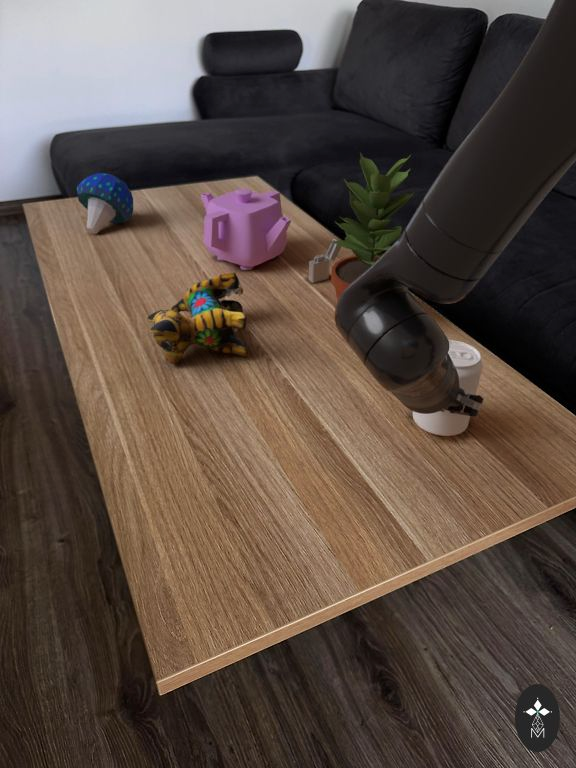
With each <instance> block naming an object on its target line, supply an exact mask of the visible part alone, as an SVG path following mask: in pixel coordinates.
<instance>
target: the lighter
mask: <svg viewBox="0 0 576 768" xmlns="http://www.w3.org/2000/svg"><path fill="white" fill-rule="evenodd" d="M338 240H339V239H336V238H333V239H332V240H331V241H332V242H330V245H329V247H328V250H327V252H326V254H325V255H324V254H322V253H321V254H318V255H314V258H313V259H312V260H309V262H308V281H309V282H310V283H311V284H314V283H318V282H322V281H325V280H329V278H330V263H331V262H330V261H333V262H334V261H336V259H337V257H338V256H339V255H338V254H339V252H340V250H341V248H342V246H339V245H337V244H335V243H333V242H336V241H338Z"/></svg>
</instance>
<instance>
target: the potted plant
mask: <svg viewBox="0 0 576 768" xmlns="http://www.w3.org/2000/svg"><path fill="white" fill-rule="evenodd" d="M359 154H360V159H359V164H360V167H361V170H362V173H363V175H364V178H365V181H366V187H365V188H364V187H363V186H362V185H360V184H359V183H357V182H353V181H351V182H350V181H347V180H346V179H343V181H344V182H345V184H346V186H347V187H348V189H349V190H348V192H349V204H350V207H351V209H352V210H353V212H354V214H355V216H356V217H357V219H358V221H359V222H360V223H359V222H358V221H356V220H354V219H353V218H350V217H344V218H343V217H341V216H339V218H340V219H341V220H343V221H344V222H342V223H339V222H336V221H335V220H334V222H335V224H336V225H337V226H338V227H339V228H341V229H342V230H344V232H345V235H346V236H345V237H344V239H343V240H342V239H337V240H338V241H336V242H333V243H335V244H337V245H339V246H341V248H345V249H349V250H351V251H352V253H353V254H354V255H349V256H347V257H343V258H341V259H339V260H337V261H336V262H334V264H333V265H332V267H331V277H330V279H331V281H330V282H331V285H332V286H333V288H334V291H335V295H336V300H337V301H338V299H339V297H340V295H341V294H342V292H343V291H344V290H345V289H346V288H347V287H348V286H349V285H350V284H351V283H352V282H353V281H355V280H356V279H357V278H358V277H359V276H360V275H362V274H363V273H364V272H365V271H366V270H367V269H368V268H370V267H371V266H372V265H373V264H374V263H375V262H376V261H377V260H378V259H379V258H380V257H381V256H382V255H383V254H384V253H385V252H386V251H387V250H388V249H389V248H390V247H391V246H392V245H393V244H394V243H395V242H396V241H397V239H398V238H399V237H400V236H401V234H402V232H403V227H402V226H401V225H397V226H393V227H390V228H389V229H386V228H387V226H388V224H390V222H391V221H392V219H391V218H390V217H391V216H392V215H394V214H395V213H396V212H397V211H398V210H399V209H401V208H402V207H403V206H404V205H406V203H408V202H409V200H411V198H413V196H414V194H415V193H416V192H415V191H414V192H412V193H410V194H409V193H402V194H400V195H398V196H396V197H395V198H393V199H392V200H390V198H391V194H392V193H393V192H394V191H395V190H396V189H397V188H398V187H399V186H400V185H401V184H402V183H403V182H404V180H406V179H407V178H408V176H409V173H410V171H411V168H409V169H408V170H406V171H399V170H400V169H401V168H402V167H403V166H404V165H405V163H406V162H407V161H408V159H410V157H411V155H409V156H408V157H407V158H401V159H399V160H398V161H396V162H395V163H394V164H393V166H391V167H390V169H389V170H388V172H387V173H386V174H380V171H379V169H378V167H377V165H376V164H375V162H374V161H373V160H372V159H369V158H367V157H364V156H363V154H362V153H361V152H359ZM389 218H390V219H389ZM329 242H330V243H332V240H329ZM383 251H384V252H383ZM382 252H383V253H382Z"/></svg>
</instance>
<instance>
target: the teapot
mask: <svg viewBox="0 0 576 768" xmlns="http://www.w3.org/2000/svg"><path fill="white" fill-rule="evenodd" d="M200 197H201V201H202V203H203V206H204V209H205V212H206V214H205V215H204V219H203V220H204V222H203V223H204V224H203V227H204V228H203V244H205V246H206V248H207V250H208V252H210V254H212V255H214V256H216V259H217V260H218V261H226V262H229V263H232V264H236V265H239V269H241V270H242V271H243V270H244V271H250V270H253V269H254V267H255V266H258V265H261V264H263V263H265V262H267V261H270V260H272V259H275V258H276V257H277V256H279V255H281V254H282V253H283V252H284V251H285V248H286V246H287V242H288V235H287V231H288V230H289V227H290V225H291V222H292V219H290V218H288V216H284V215H283V210H282V209H283V208H282V202H281V192H280V191H276V190H273V189H271V190H269V191H266V192H264V193H259V192H254V191H252V190H251V189H248V188H239V189H236V190H233V191H230V192H228V193H224V194H222V195H219V196H216V197H214V196H213V195H212V193H211V192H210V193H209V192H203V193H202V194H200Z"/></svg>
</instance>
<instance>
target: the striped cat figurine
mask: <svg viewBox="0 0 576 768" xmlns="http://www.w3.org/2000/svg"><path fill="white" fill-rule="evenodd" d="M232 294H235V295H236V296H237V295H238V297H240V296H241V295H242V294H244V288H243V286H242V283H241V281H240V279H239V277H238V276H237V274H236V272H233V271H230V272H227V273H223V274H218V275H216V276H214V277H212V278H210V279H209V278H208V279H205V280H202V281H199V282H197V283H195V284H193V285H192V286H191V287H190V288H189V289H188V291H187V292H186V294H185V295H184V296H183V297H182V298H181V299H180V300H178V302H176V303H175V304H173V305H172V306H171V307H170V309H165V310H164V309H160V310H157V311H155V312H153V313H151V314H150V315H149V316H147V318H146V319H147V321H149V322H151V323H153V325H152V327H151V328H150V330H149V333H150V334H152V335H153V340H154V341H155V343H156V344H157V345H158V346H159V347H160V348H162V350H163V352H164V359H165V360H166V361H167V362H168V363H169V364H171V365H176V364H178V363H179V362H180V360H181V359H182V358H183V356H184V354H185V353H186V351H187V350H188V349H189V348H190V346H192V345H197V346H201V347H204V348H206V349H210V350H212V351H215V352H221V353H224V354H231V355H237V356H240V357H243V358H246V357H247V356H248V348H247V344H246V343H245V342H244V341H243V340H242V339H240V338H239V337H238V336H236V334H235V333H234V332H237V331H238V330H240V331H241V330H244V329H245V328H246V326H247V316H246V314H245V313H244V308H243V306H242V303H241V302H239V301H237V300H234V299H233V300H232V299H223V298H226V297H228V298H230V297H231V296H232ZM221 299H222V300H221ZM181 312H187V313H189V314H190V316H191V317H187V316H185V315H184V314H182V313H181Z"/></svg>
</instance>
